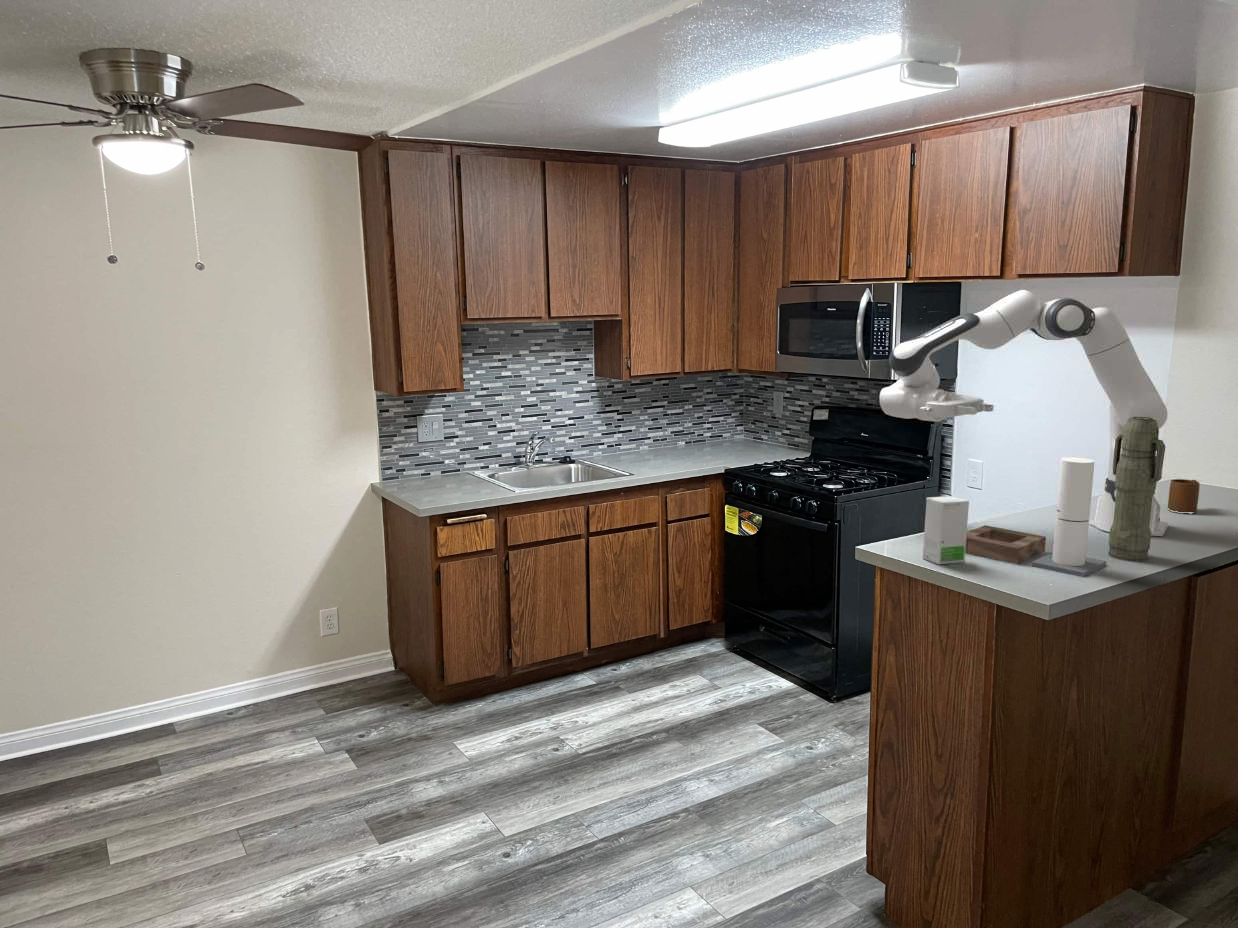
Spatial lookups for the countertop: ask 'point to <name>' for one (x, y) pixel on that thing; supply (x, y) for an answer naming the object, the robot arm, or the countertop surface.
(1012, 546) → the pocket block
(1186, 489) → the mug
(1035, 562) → the rubber mat
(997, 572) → the countertop surface
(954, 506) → the skincare box
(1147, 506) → the thermos
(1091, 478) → the cylindrical container
